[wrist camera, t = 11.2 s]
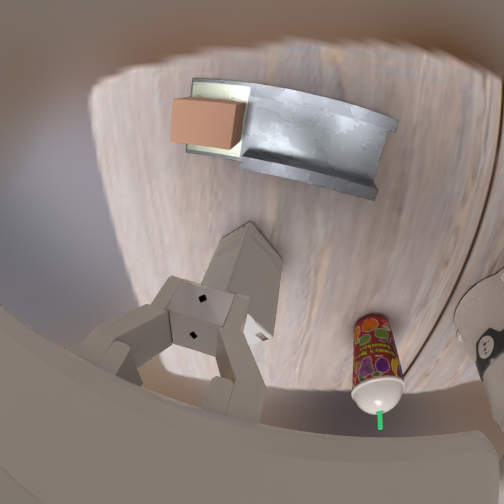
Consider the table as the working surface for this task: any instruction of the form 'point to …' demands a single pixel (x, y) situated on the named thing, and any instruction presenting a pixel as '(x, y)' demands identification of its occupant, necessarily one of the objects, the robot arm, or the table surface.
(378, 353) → the smoothie
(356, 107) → the chute
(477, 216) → the table surface
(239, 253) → the skincare box
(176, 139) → the block
